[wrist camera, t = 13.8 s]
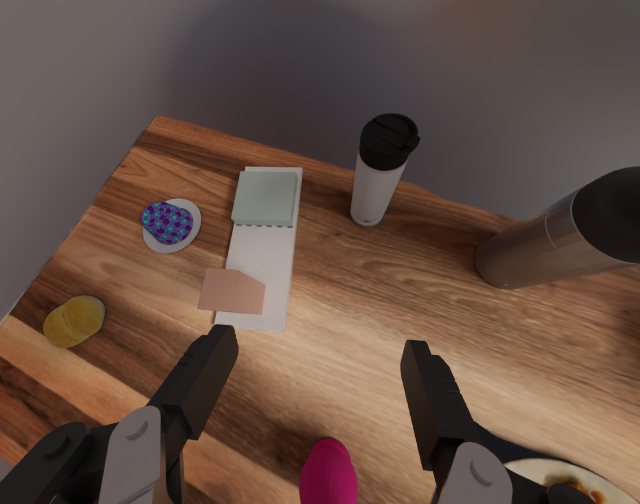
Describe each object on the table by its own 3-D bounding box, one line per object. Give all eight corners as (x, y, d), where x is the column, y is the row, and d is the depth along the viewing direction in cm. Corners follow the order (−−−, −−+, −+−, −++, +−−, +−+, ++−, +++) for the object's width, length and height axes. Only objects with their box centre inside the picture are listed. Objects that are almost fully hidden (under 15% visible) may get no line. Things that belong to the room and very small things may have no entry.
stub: (243, 283, 40) (206, 267, 28) (265, 285, 39) (237, 269, 28) (238, 313, 38) (197, 308, 27) (261, 314, 38) (229, 311, 26)
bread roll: (114, 322, 41) (91, 322, 37) (68, 354, 40) (39, 357, 36) (99, 286, 43) (77, 282, 39) (55, 315, 42) (27, 314, 38)
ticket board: (247, 170, 49) (240, 158, 45) (302, 171, 48) (300, 159, 44) (217, 326, 39) (205, 326, 36) (285, 332, 38) (280, 332, 35)
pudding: (144, 210, 48) (121, 197, 43) (198, 193, 48) (182, 178, 43) (147, 262, 44) (123, 254, 39) (207, 243, 44) (190, 233, 39)
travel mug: (371, 235, 42) (400, 163, 23) (343, 215, 44) (349, 132, 25) (391, 211, 43) (434, 124, 24) (363, 193, 45) (383, 98, 26)
